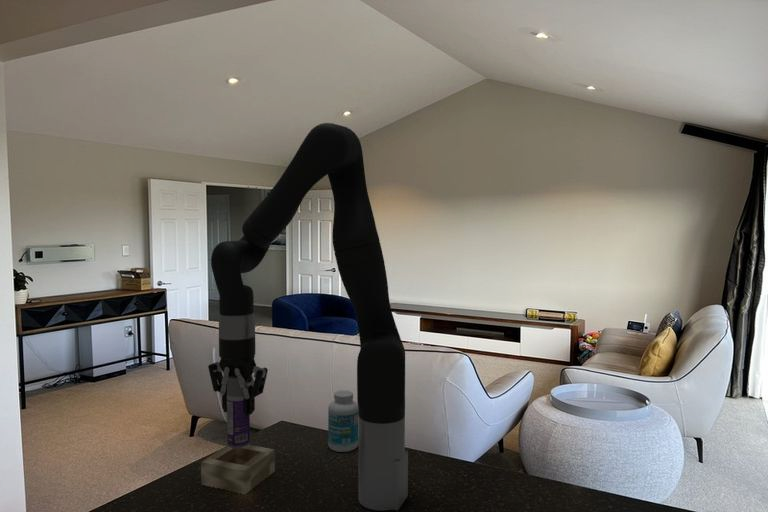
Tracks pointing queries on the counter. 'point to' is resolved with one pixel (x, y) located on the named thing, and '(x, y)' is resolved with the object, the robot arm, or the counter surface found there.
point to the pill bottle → (343, 422)
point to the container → (236, 415)
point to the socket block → (238, 468)
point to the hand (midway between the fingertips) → (238, 412)
